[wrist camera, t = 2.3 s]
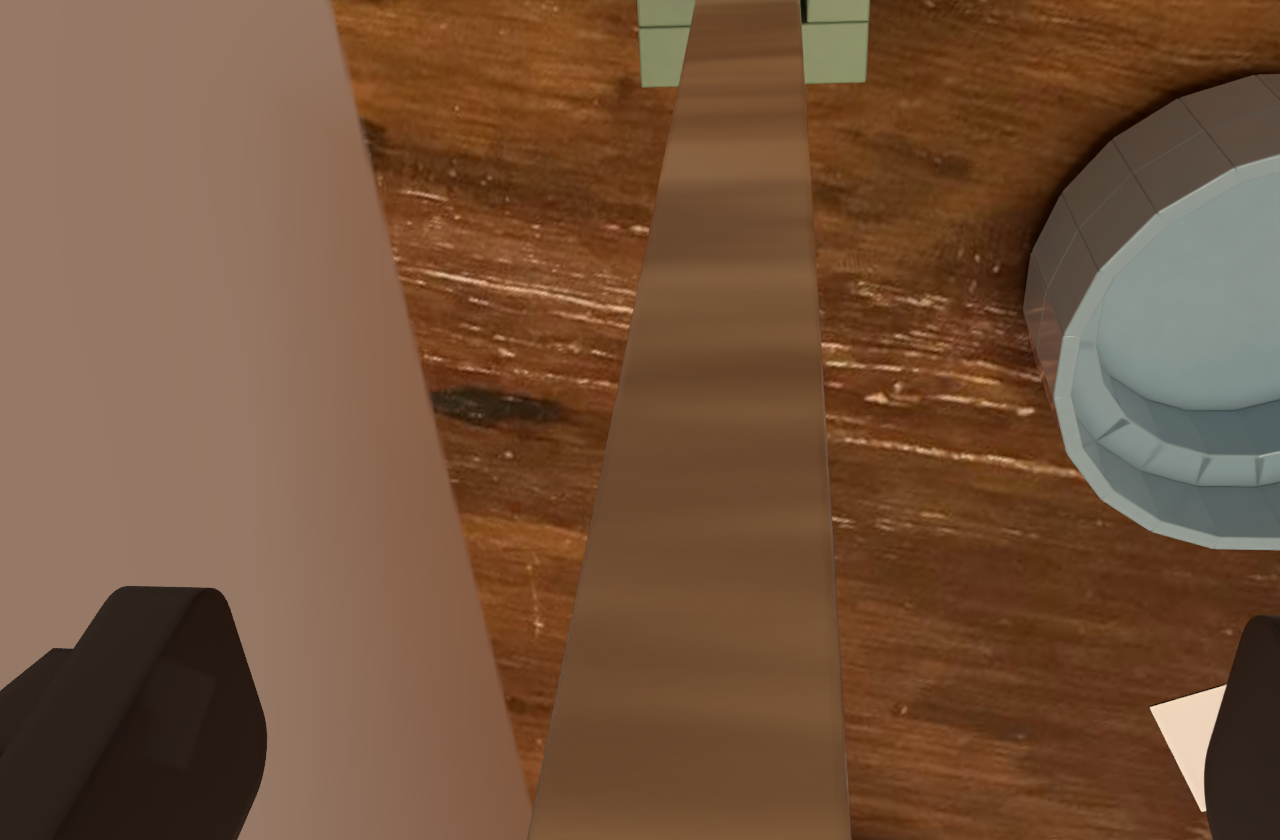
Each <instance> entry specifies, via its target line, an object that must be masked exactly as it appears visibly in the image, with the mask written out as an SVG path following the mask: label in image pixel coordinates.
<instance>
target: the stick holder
mask: <svg viewBox="0 0 1280 840" xmlns="http://www.w3.org/2000/svg"><path fill="white" fill-rule="evenodd" d="M695 1H696V0H637V11H638V24H639V30H638V32H639V51H640V70H641V85H642V87H678V85H679V80H680V75H681V70H682V65H683V60H684V55H685V50H686V45H687V40H688V35H689V30H690V25H691V21H692V16H693V11H694V6H695ZM800 7H801V23H802V40H803V56H804V72H805V84H819V83H864V82H866V75H867V55H868V36H869V21H868V20H869V16H870V0H800Z"/></svg>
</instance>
